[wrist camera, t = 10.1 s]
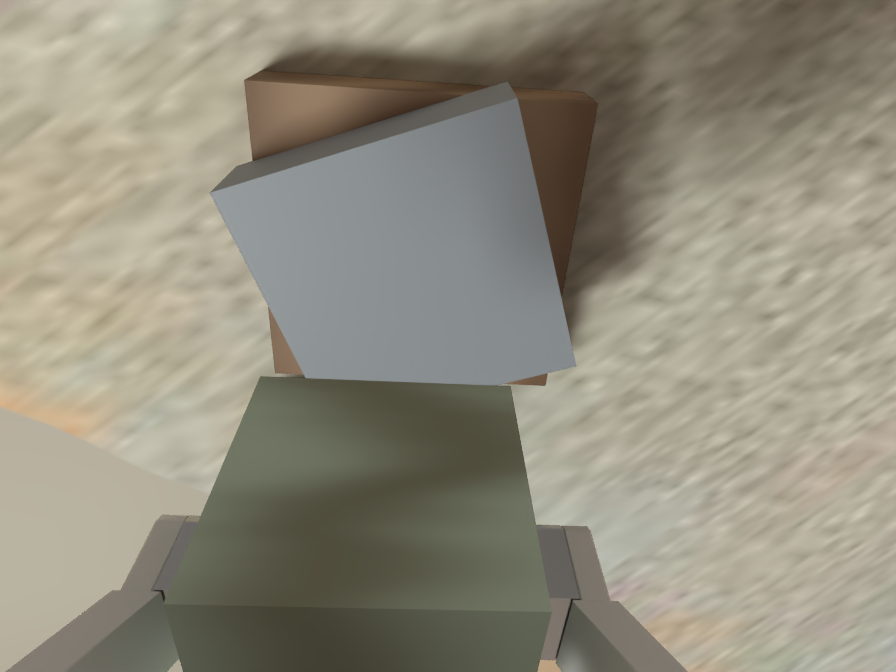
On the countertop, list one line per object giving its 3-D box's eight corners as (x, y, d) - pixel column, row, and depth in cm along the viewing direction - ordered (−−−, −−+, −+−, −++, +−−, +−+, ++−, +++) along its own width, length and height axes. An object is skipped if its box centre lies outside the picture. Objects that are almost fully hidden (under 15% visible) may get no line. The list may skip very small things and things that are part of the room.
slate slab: (507, 81, 20) (517, 97, 18) (562, 325, 25) (576, 366, 23) (236, 166, 21) (209, 192, 19) (340, 381, 27) (330, 425, 24)
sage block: (510, 385, 12) (551, 611, 8) (486, 550, 15) (508, 786, 10) (260, 376, 12) (162, 604, 8) (281, 545, 14) (216, 786, 10)
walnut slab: (580, 89, 23) (597, 104, 21) (536, 349, 29) (545, 385, 27) (266, 67, 23) (244, 80, 20) (289, 337, 29) (275, 373, 26)
